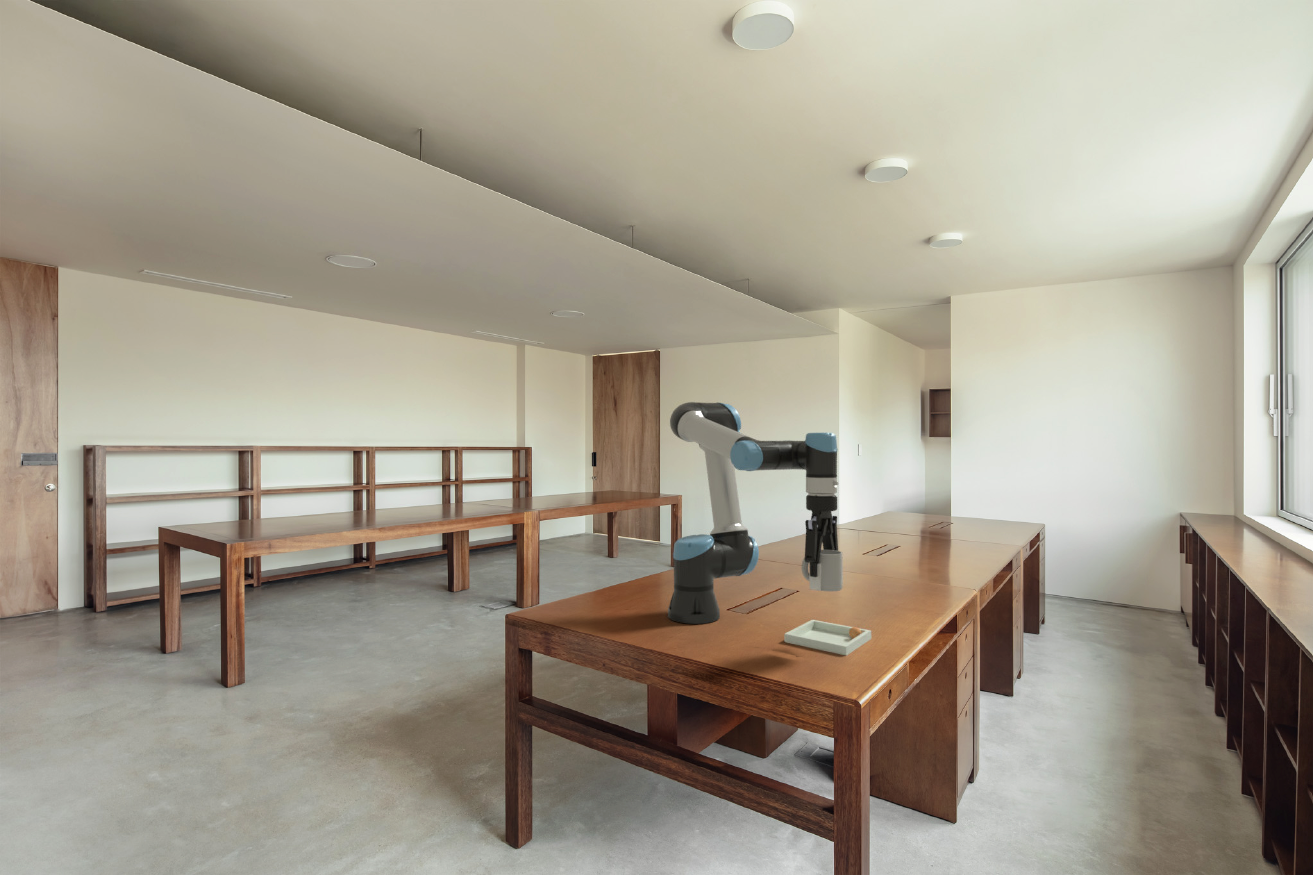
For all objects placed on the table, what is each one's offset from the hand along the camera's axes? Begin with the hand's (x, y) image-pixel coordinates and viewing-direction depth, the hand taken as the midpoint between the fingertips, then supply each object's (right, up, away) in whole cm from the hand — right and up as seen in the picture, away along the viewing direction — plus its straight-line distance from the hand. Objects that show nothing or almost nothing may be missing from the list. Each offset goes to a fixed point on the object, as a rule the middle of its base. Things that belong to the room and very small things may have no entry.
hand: (822, 586), depth 152 cm
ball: (+9, -14, +3) cm, 17 cm away
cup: (0, 0, 0) cm, 0 cm away
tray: (+2, -15, +2) cm, 15 cm away
